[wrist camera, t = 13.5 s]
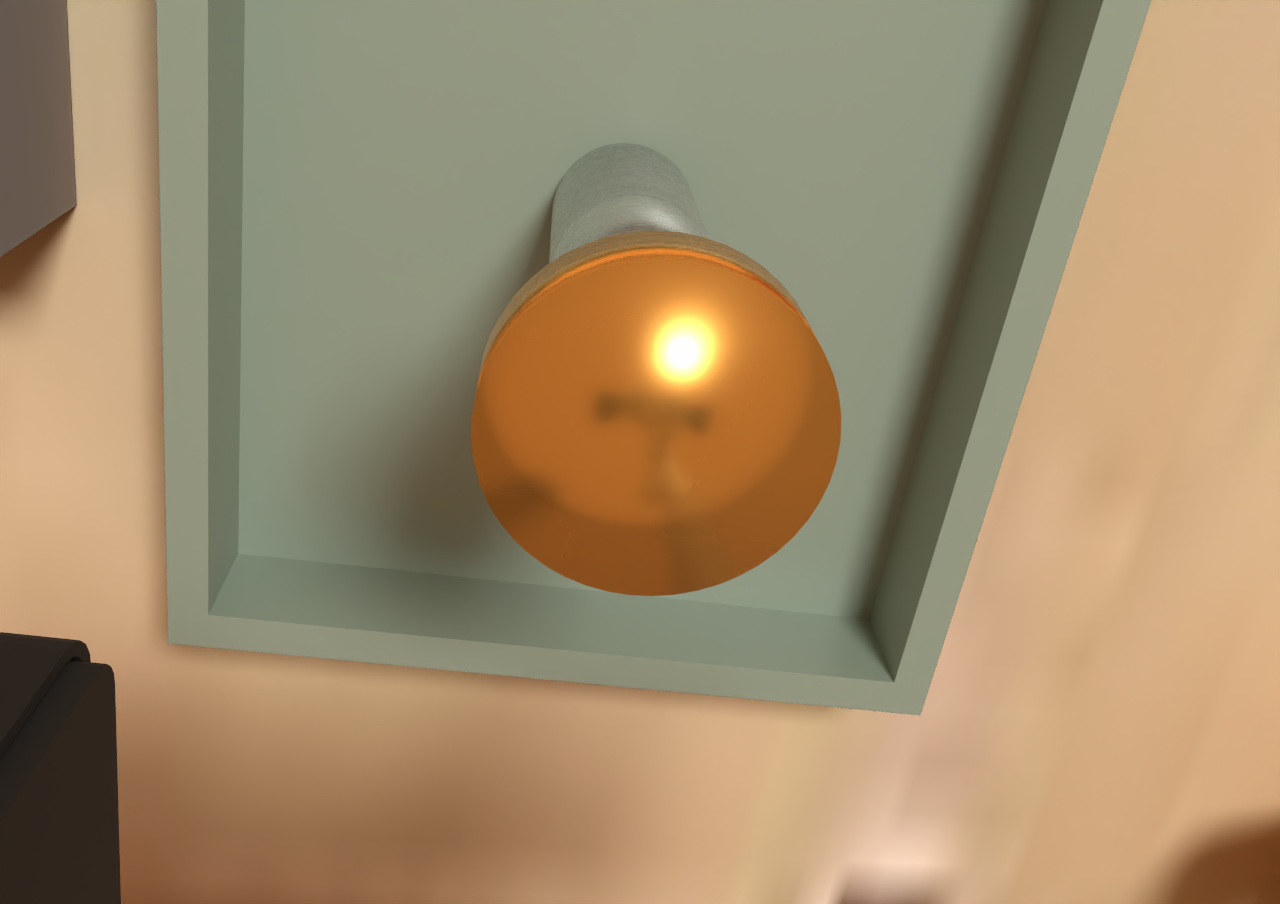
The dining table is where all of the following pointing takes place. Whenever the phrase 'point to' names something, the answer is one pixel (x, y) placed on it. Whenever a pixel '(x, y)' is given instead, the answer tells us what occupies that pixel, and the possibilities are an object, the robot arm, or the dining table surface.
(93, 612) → the dining table surface
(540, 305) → the orange knob peg
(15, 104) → the grey square hole block
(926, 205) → the tray
